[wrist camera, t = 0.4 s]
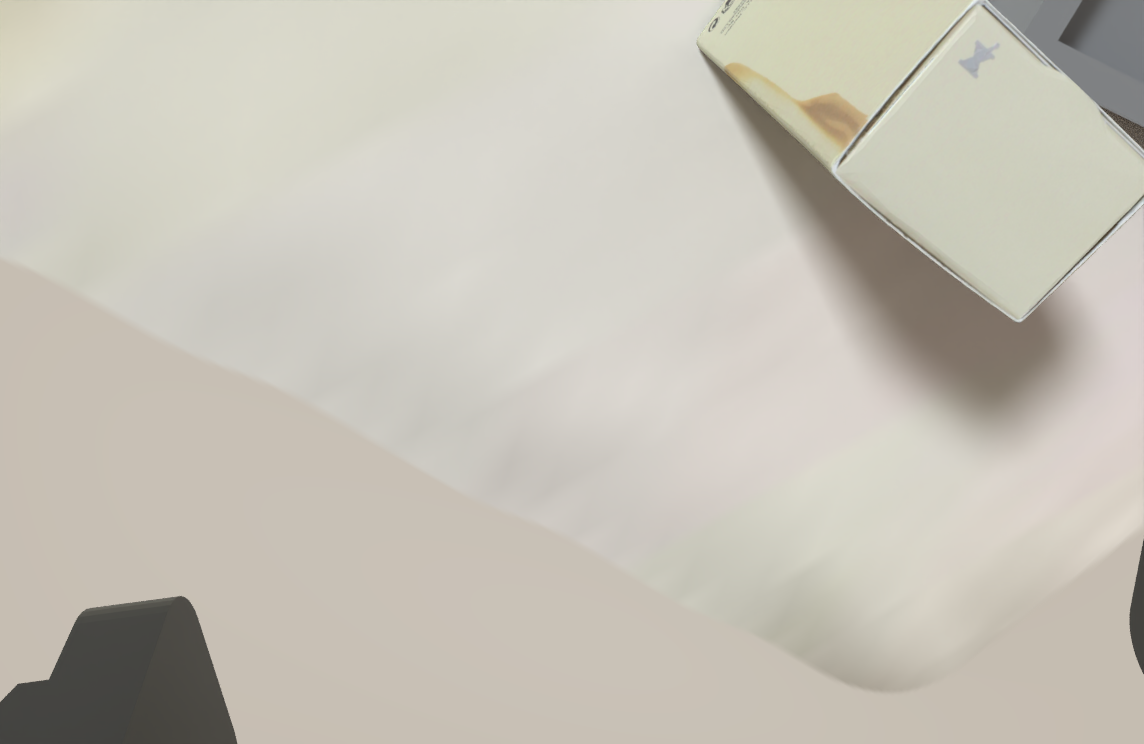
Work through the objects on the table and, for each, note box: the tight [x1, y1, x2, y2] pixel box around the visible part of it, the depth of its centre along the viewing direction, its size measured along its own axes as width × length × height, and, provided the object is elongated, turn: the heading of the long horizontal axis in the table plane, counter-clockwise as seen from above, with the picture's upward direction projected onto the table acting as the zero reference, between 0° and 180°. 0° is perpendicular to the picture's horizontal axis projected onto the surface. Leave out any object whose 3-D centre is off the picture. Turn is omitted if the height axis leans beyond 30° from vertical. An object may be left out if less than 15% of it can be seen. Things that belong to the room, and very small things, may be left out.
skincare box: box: [697, 0, 1144, 323], centre depth 27 cm, size 6×4×12 cm
